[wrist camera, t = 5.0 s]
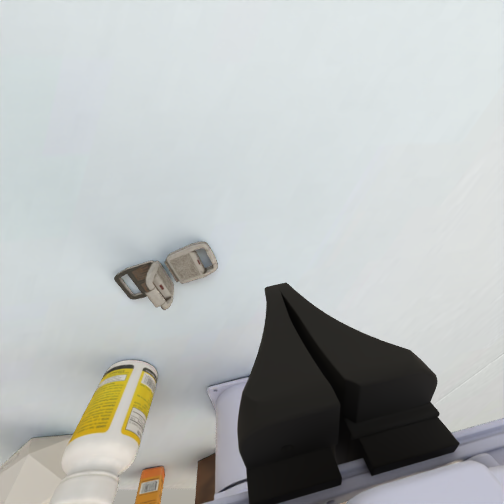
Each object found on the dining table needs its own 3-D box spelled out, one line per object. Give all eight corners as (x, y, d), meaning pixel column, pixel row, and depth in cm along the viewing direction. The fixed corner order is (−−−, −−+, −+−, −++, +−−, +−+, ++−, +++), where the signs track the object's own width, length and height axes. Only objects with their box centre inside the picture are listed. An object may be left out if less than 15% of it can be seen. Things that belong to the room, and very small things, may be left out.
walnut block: (223, 449, 32) (224, 495, 28) (239, 458, 35) (242, 503, 30) (197, 461, 33) (194, 509, 28) (214, 470, 35) (214, 515, 31)
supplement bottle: (98, 383, 22) (20, 528, 14) (117, 351, 21) (42, 492, 12) (147, 393, 24) (105, 527, 15) (167, 365, 23) (134, 496, 14)
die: (40, 407, 24) (-103, 541, 17) (94, 456, 22) (-40, 629, 15) (71, 416, 29) (-25, 518, 22) (116, 456, 28) (27, 579, 21)
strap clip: (206, 237, 17) (202, 259, 13) (220, 265, 18) (220, 293, 15) (113, 272, 17) (83, 304, 13) (134, 298, 19) (112, 334, 15)
